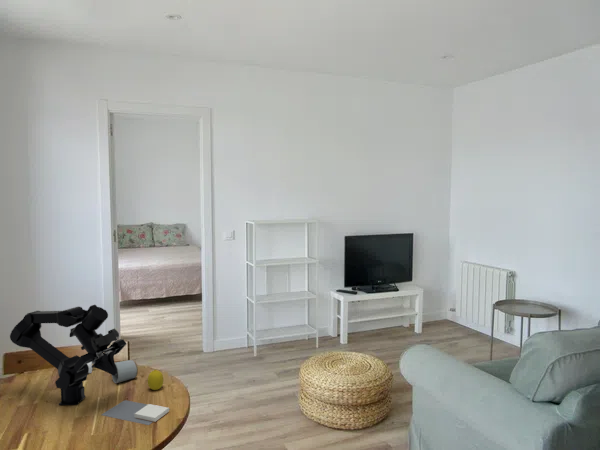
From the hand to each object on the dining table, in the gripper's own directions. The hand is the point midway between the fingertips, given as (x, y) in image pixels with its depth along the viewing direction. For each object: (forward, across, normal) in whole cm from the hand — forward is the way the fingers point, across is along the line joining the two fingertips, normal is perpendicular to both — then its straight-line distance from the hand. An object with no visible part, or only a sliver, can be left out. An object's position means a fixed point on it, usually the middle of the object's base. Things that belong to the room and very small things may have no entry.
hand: (115, 374), depth 149 cm
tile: (+15, 0, 0) cm, 15 cm away
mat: (+14, 0, +3) cm, 15 cm away
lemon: (+11, +17, +7) cm, 21 cm away
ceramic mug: (-2, +21, +20) cm, 29 cm away
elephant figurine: (-16, +22, +34) cm, 43 cm away
